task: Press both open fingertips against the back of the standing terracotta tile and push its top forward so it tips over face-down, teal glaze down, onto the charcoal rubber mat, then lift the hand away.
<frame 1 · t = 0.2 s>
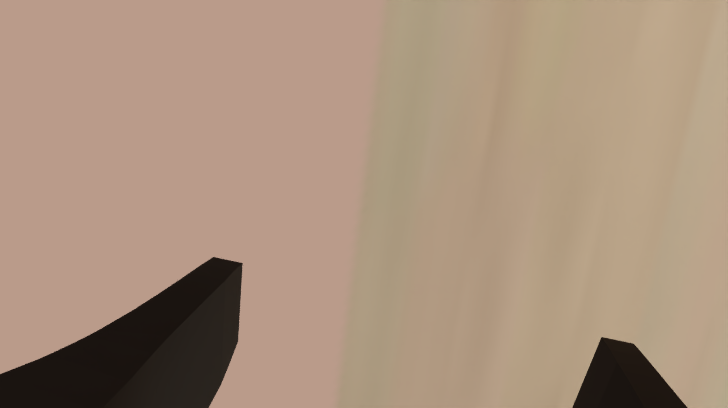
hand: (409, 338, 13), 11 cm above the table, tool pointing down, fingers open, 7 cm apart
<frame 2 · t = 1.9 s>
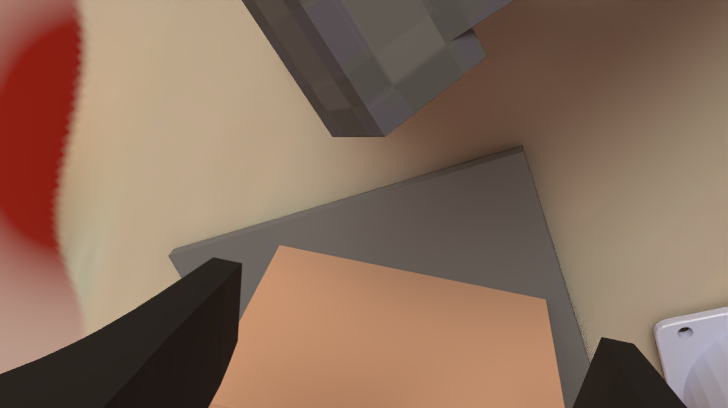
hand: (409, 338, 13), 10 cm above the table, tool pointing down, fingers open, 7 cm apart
mat: (399, 348, 26), on the table
tile: (407, 288, 24), resting on mat
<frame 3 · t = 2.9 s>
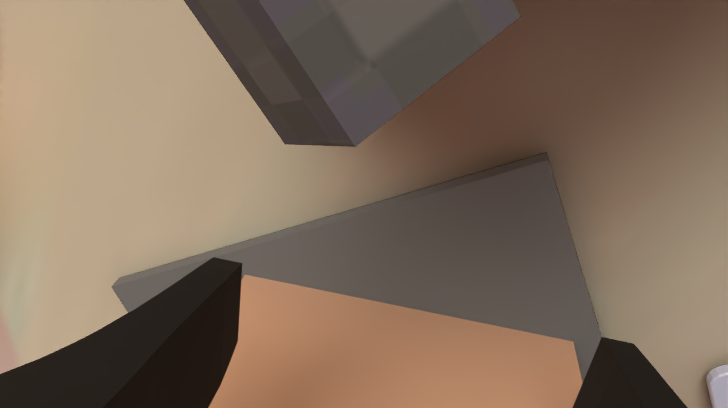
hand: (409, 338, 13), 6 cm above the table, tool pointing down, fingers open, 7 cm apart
mat: (393, 396, 21), on the table
tile: (402, 326, 19), resting on mat
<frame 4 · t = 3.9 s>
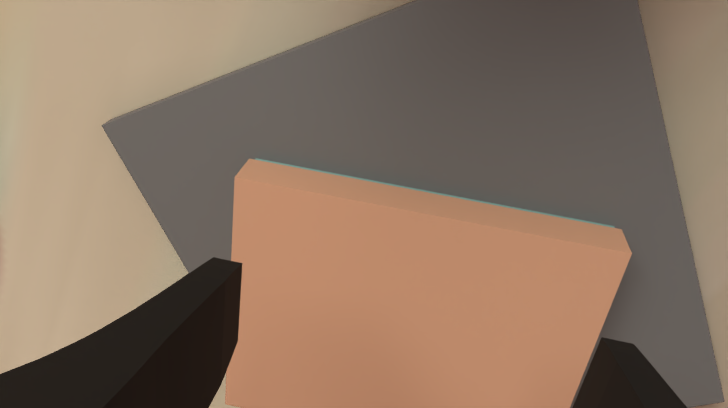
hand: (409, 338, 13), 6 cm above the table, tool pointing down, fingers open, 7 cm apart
mat: (423, 258, 19), on the table
tile: (430, 200, 16), point 1 cm above the table, tilted 90°, touching mat
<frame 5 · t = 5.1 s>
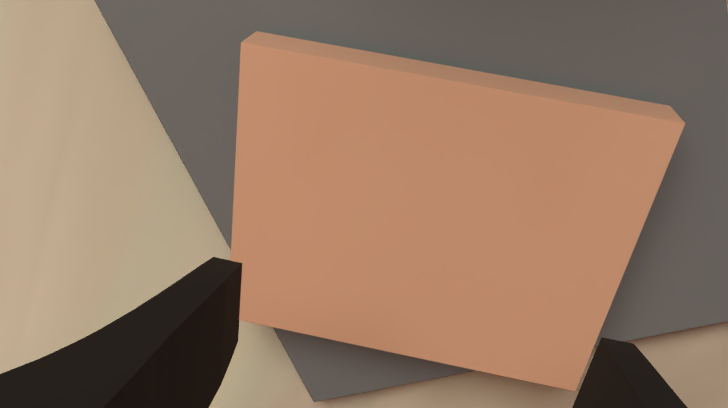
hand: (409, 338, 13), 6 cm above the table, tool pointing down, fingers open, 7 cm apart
mat: (446, 153, 17), on the table
tile: (458, 72, 15), point 1 cm above the table, tilted 90°, touching mat
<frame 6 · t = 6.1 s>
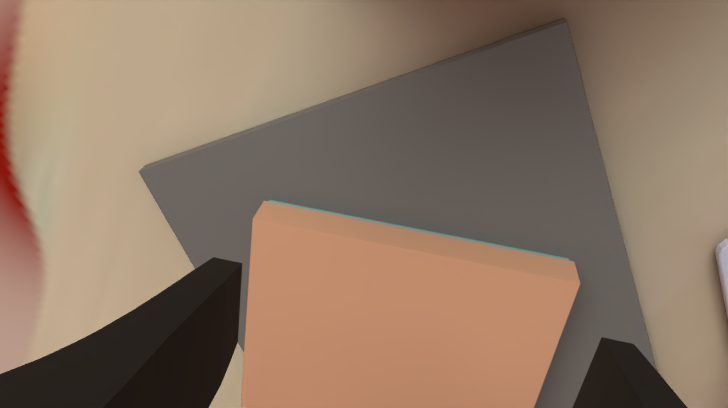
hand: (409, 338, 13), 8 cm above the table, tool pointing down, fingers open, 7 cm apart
mat: (410, 282, 22), on the table
tile: (415, 237, 20), point 1 cm above the table, tilted 90°, touching mat
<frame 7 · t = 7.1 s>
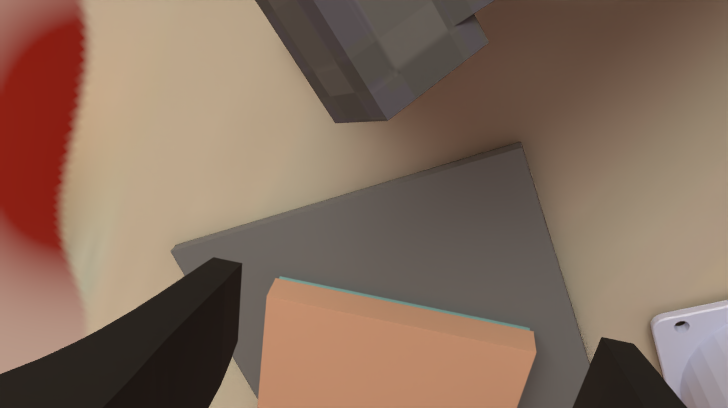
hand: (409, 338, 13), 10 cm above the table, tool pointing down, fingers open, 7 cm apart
mat: (398, 343, 26), on the table
tile: (401, 311, 24), point 1 cm above the table, tilted 90°, touching mat
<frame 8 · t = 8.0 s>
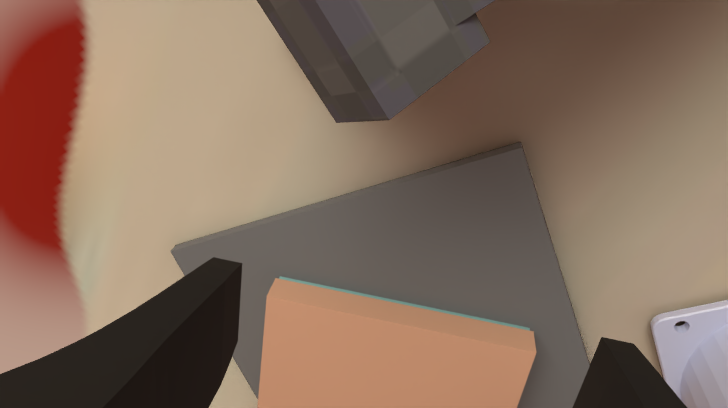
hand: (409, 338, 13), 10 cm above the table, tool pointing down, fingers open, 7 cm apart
mat: (398, 343, 26), on the table
tile: (401, 311, 24), point 1 cm above the table, tilted 90°, touching mat
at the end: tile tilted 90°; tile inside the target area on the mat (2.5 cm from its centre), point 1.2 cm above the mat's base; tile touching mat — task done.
